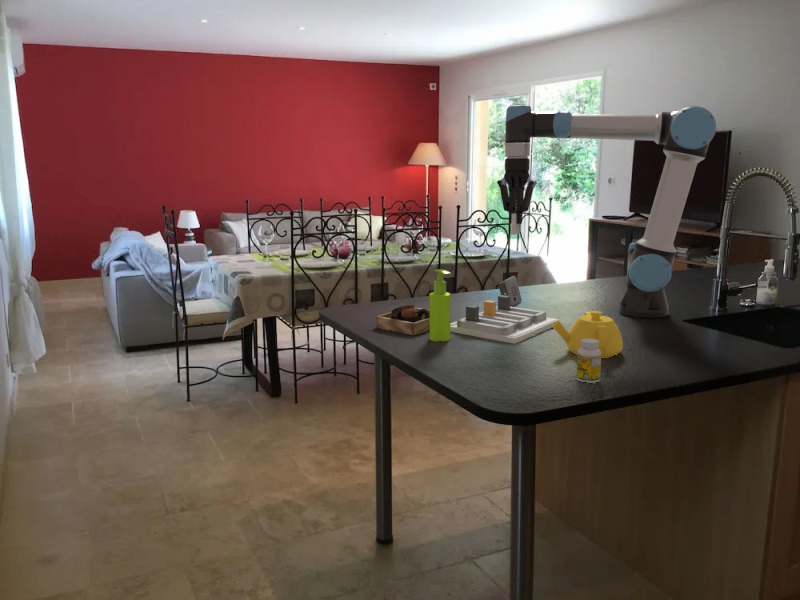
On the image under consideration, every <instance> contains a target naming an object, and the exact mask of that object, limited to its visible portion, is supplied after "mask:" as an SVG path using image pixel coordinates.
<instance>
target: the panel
mask: <svg viewBox="0 0 800 600" xmlns="http://www.w3.org/2000/svg"><path fill="white" fill-rule="evenodd" d="M496 314H497V316H496V317H495V316H489V315H483V311H481V312H480V311H479V322H473V321H468V320H466V316H465V317H462V318H460V319H457V320H456V321H453V322H450V333H456V334H462V335H467V336H473V337H478V338H483V339H488V340H493V341H499V342H503V343H509V344H513V345H514V344H517V343H520V342H523V341H524V340H526V339H529V338H531V337H534V336H536V335H538V334H541V333H542V332H544V331H547V330H550V329H552V328H553V327H552V325H553V324H554V323H555V322H557V321H560V322H561V320H560V319H558V318H553V317H547V311H542V310H535V309H530V308H529V309H528V308H523V307H516V306H510V311H507V310H501V309H498V305H496Z"/></svg>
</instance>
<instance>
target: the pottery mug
mask: <svg viewBox="0 0 800 600" xmlns="http://www.w3.org/2000/svg"><path fill="white" fill-rule="evenodd" d="M415 307H416V306H415V305H413V304H406V305H403V306H399V307H396V308H393V309H392V310H391V311H390V312H391V313H392V316H391V319H397V320H402V321H407V322H413V323H414V322H417V321H420V320H423V319H422V318H421V317H422V315H423V314H424V313H425V314H426V316H425V318H424V319H427V318H430V313H429V311H428V310H429V309H428V308H422V309H420V310H416V309H415ZM427 309H428V310H427ZM416 313H417V314H418V315H417V314H416Z"/></svg>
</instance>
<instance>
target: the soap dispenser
mask: <svg viewBox="0 0 800 600" xmlns="http://www.w3.org/2000/svg"><path fill="white" fill-rule="evenodd" d="M434 272H435V273H436V279H435V280H434V281H433V288H434V289H433V292H430V293H429V310H430V330H429V340H430V341H433V342H438V341H442V342H448V341H450V340H451V332H450V323H451V293H450V292H447V281H446V280H444V276H448V275H451V272H449V271H448V270H446V269H442V268H441V269H434Z"/></svg>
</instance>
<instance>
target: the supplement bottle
mask: <svg viewBox="0 0 800 600" xmlns="http://www.w3.org/2000/svg"><path fill="white" fill-rule="evenodd" d="M580 345H581V348H580V349H578V352H577V355H576V380H577V381H578V380H579V381H581V382H580V383H582V382H587V383H586V384H588V383H593V384H597V383H596V382H598V383H599V382H600V381H601V372H602V370H601V368H602V359H601V351H600V350H599V349H598V346H599V341H598V340H596V339H590V338H586V339H581V344H580ZM579 381H578V382H579Z"/></svg>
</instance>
